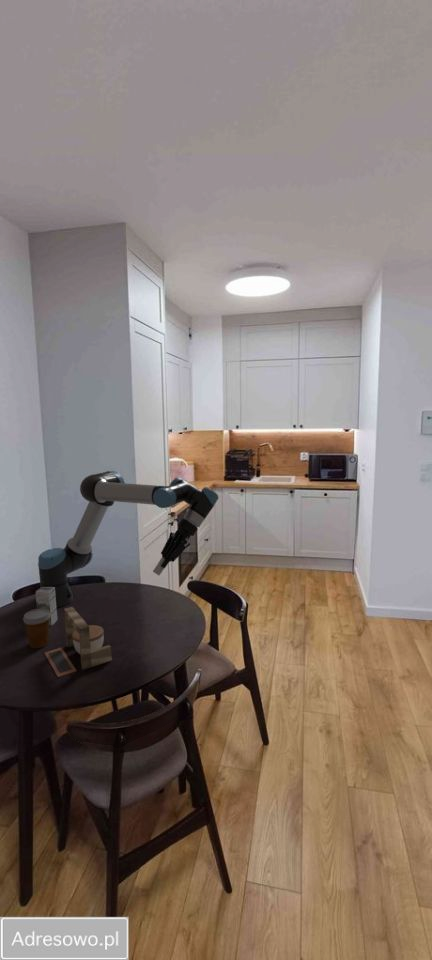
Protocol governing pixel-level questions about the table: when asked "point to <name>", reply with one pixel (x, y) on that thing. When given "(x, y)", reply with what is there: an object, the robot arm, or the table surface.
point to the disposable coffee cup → (37, 627)
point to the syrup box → (47, 602)
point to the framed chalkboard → (60, 662)
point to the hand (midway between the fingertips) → (155, 573)
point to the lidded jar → (95, 638)
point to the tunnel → (84, 640)
